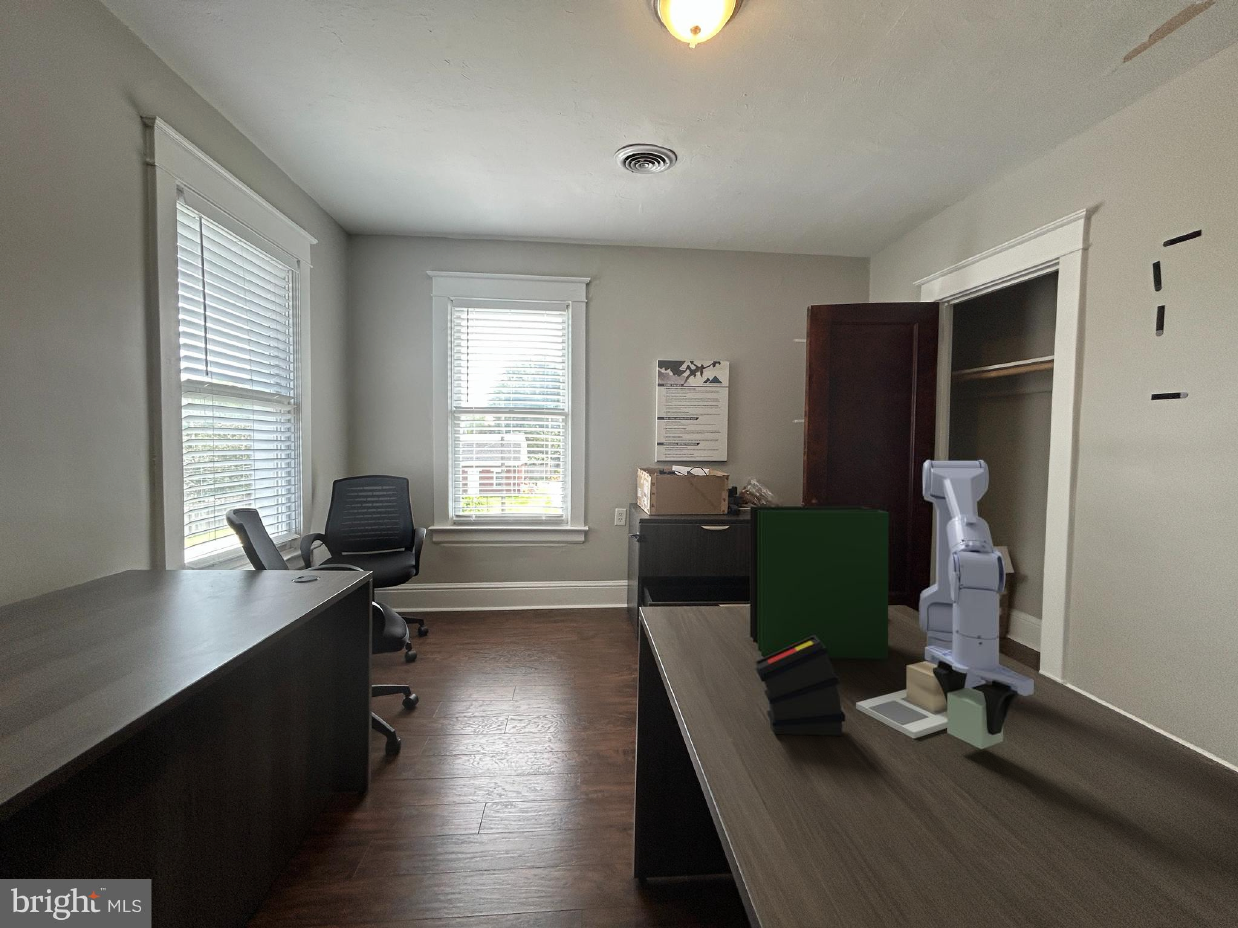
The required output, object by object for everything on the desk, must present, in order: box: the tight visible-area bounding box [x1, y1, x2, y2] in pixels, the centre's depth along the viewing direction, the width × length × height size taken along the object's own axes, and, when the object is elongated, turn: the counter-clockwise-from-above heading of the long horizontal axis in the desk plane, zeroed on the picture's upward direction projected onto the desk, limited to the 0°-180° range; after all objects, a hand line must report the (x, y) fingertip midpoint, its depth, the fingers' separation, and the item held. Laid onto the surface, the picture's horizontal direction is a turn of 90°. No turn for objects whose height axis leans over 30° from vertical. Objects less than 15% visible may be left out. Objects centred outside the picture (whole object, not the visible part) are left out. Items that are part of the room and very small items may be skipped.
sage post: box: [946, 687, 1004, 750], centre depth 79 cm, size 5×5×6 cm
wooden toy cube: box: [906, 660, 947, 712], centre depth 93 cm, size 5×5×6 cm
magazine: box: [754, 635, 846, 737], centre depth 85 cm, size 4×13×15 cm, turn 87°
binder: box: [749, 505, 890, 660], centre depth 124 cm, size 27×15×32 cm, turn 87°
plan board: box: [855, 688, 947, 739], centre depth 91 cm, size 15×11×1 cm
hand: (974, 723), depth 79 cm, fingers closed on sage post, 5 cm apart
